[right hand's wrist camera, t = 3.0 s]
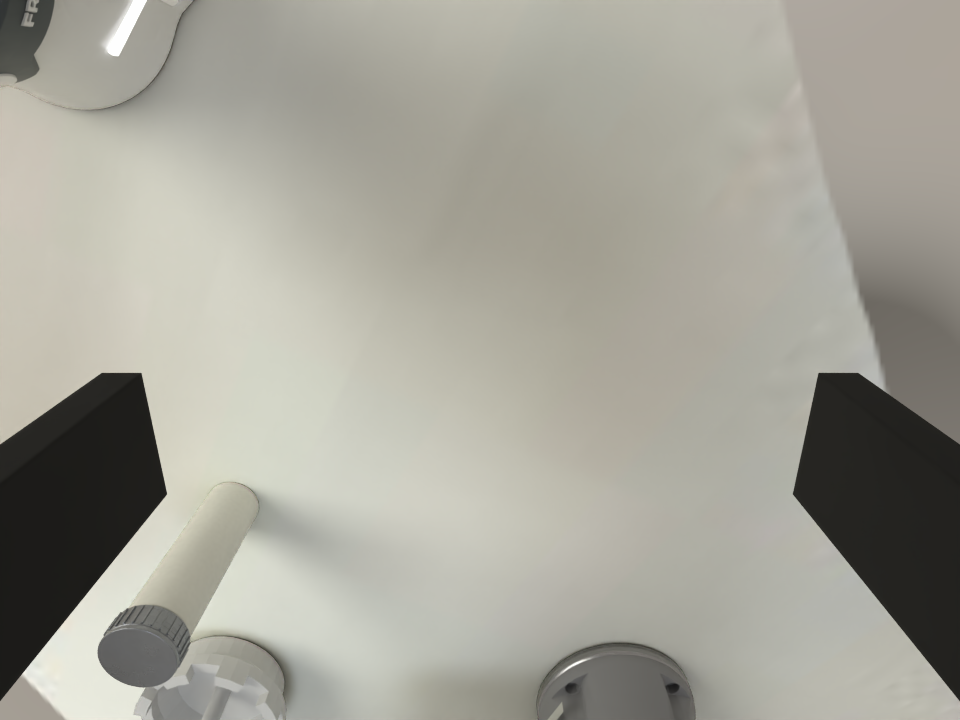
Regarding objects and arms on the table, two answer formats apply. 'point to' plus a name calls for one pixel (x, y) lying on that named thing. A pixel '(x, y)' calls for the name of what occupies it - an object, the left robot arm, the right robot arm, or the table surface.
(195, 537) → the jar
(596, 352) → the table surface
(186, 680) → the flag stand
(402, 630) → the table surface
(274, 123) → the table surface
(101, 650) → the lid
